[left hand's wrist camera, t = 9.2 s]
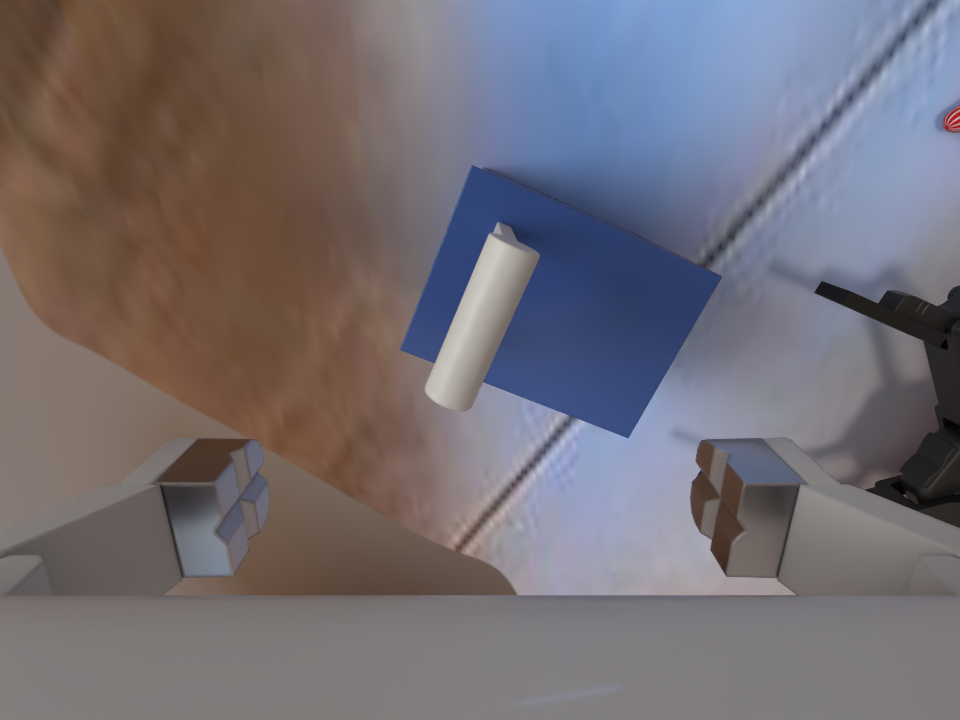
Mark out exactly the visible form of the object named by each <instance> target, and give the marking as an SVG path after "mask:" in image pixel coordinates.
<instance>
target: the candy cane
mask: <svg viewBox="0 0 960 720" xmlns="http://www.w3.org/2000/svg"><path fill="white" fill-rule="evenodd" d="M943 127H944V128H945V129H946V130H947V131H949V132H959V131H960V105H959V106H958V107H956V108H955V109H953V110H952V111H951V112H949V113H948V114H947V115H946V116H945V118H944V120H943Z"/></svg>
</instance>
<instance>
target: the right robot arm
mask: <svg viewBox="0 0 960 720" xmlns="http://www.w3.org/2000/svg"><path fill="white" fill-rule="evenodd" d="M814 293H816V294H818V295H821V296H823V297H825V298H827V299H830V300H832V301H834V302H836V303H839V304H841V305H843V306H845V307H848V308H850V309H852V310H854V311H857V312H859V313H861V314H863V315H866V316H868V317H870V318H872V319H875V320H877V321H879V322H881V323H884V324H886V325H888V326H890V327H893V328H895V329H897V330H899V331H902V332H904V333H906V334H909V335H911V336H914V337H916V338H919V339H921V340H923V341H924V345H925V349H926V353H927V357H928V361H929V366H930V370H931V374H932V378H933V382H934V386H935V390H936V394H937V398H938V402H939V405H936V406H935V412H936V416H937V420H938V424H939V428H940V430H938V431H936V432H935V433H931V432H929V433H928V435H927V436H926V437H925V438H924V440H923V441H922V443H921V445H920V447H919V449H918V451H917V453H916V454H915V455H913V456H912V457H911V458H910V459H909V460H907V461H906V463H905V464H904V465H903V466H902V468H901V469H900V471H901V472H903V474H902V475H900V476H896V477H892V478H888V479H884V480H880V481H877V482H876V483H875V487H873V488H870V489H866V490H865V491H868V492H870V493H873V494H875V495H878V496H880V497H883V498H885V499H888V500H890V501H893V502H895V503H898V504H900V505H903V506H905V507H908V508H910V509H913V510H915V511H918V512H920V513H923V514H925V515H928V516H930V517H933V518H936V519H938V520H941V521H943V522H946V523H948V524H951V525H953V526H956V527H958V528H960V286H956V287H954V288H953V289H952V290H951V291H950V292H949V294H948V298H947V299H948V300H947V301H946V302H945V303H943V304H941V305H939V306H935V305H933V304H930V303H928V302H926V301H924V300H922V299H919V298H917V297H915V296H912V295H909V294H906V293H903V292H899V291H892V290H887V291H886V293H885V294H884V296H883V297H882V299H881V300H880V302H879V303H875V302H873V301H871V300H869V299H866V298H864V297H862V296H860V295H858V294H855V293H853V292H851V291H848V290H845V289H842V288H840V287H837V286H834V285H831V284H828V283H826V282H823V281H822V282H821V283H820V285H819V286H818V288H817V289H816V291H815V292H814ZM701 472H702V470H701V471H700V472H699V474H700V473H701ZM699 474H698V475H699ZM904 494H906V496H907V498H905V497H904V496H903V495H904Z"/></svg>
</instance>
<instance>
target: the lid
mask: <svg viewBox="0 0 960 720" xmlns="http://www.w3.org/2000/svg"><path fill="white" fill-rule="evenodd" d="M721 277H722V276H720V275H718V274H716V273H714V272H712V271H710V270H707V269H705V268H703V267H701V266H698V265H696V264H694V263H692V262H689V261H687V260H685V259H683V258H680V257H678V256H676V255H674V254H671V253H669V252H667V251H665V250H662V249H660V248H658V247H656V246H653V245H651V244H649V243H647V242H644V241H642V240H640V239H638V238H635V237H633V236H631V235H629V234H626V233H624V232H622V231H620V230H617V229H615V228H613V227H611V226H608V225H606V224H604V223H602V222H599V221H597V220H595V219H593V218H590V217H588V216H586V215H584V214H581V213H579V212H577V211H575V210H572V209H570V208H568V207H566V206H563V205H561V204H559V203H557V202H554V201H552V200H550V199H547V198H545V197H543V196H541V195H538V194H536V193H534V192H532V191H529V190H527V189H525V188H523V187H520V186H518V185H516V184H514V183H511V182H509V181H507V180H505V179H502V178H500V177H498V176H496V175H493V174H491V173H489V172H487V171H484V170H482V169H480V168H478V167H475V166H473V165H472V166H471V169H470V171H469V174H468V176H467V179H466V182H465V184H464V187H463V189H462V192H461V194H460V197H459V200H458V202H457V205H456V207H455V210H454V212H453V215H452V218H451V220H450V223H449V225H448V228H447V230H446V233H445V236H444V238H443V241H442V243H441V246H440V248H439V251H438V254H437V256H436V259H435V261H434V264H433V266H432V269H431V272H430V274H429V277H428V279H427V282H426V284H425V287H424V290H423V292H422V295H421V297H420V300H419V302H418V305H417V307H416V310H415V313H414V315H413V318H412V320H411V323H410V325H409V328H408V331H407V333H406V336H405V338H404V341H403V343H402V346H401V349H400V350H402V351H405V352H407V353H410V354H412V355H415V356H417V357H420V358H423V359H425V360H428V361H430V362H433V363H435V364H434V367H433V369H432V371H431V374H430V376H429V379H428V381H427V383H426V386H425V392H426V394H427V395H428V396H429V397H430V398H431V399H432V400H433V401H435V402H436V403H438V404H440V405H441V406H444V407H446V408H449V409H452V410H457V411H466V410H469V409H470V408H471V407H472V405H473V403H474V401H475V398H476V396H477V394H478V392H479V390H480V388H481V385H482V383H483V382H485V383H487V384H490V385H492V386H495V387H497V388H500V389H503V390H505V391H508V392H510V393H513V394H515V395H518V396H521V397H523V398H526V399H528V400H531V401H534V402H536V403H539V404H541V405H544V406H546V407H549V408H552V409H554V410H557V411H559V412H562V413H565V414H567V415H570V416H572V417H575V418H577V419H580V420H583V421H585V422H588V423H590V424H593V425H595V426H598V427H601V428H603V429H606V430H608V431H611V432H614V433H616V434H619V435H621V436H624V437H626V438H629V436H630V434H631V433H632V431H633V429H634V427H635V426H636V424H637V422H638V421H639V419H640V417H641V415H642V414H643V412H644V410H645V408H646V407H647V405H648V403H649V402H650V400H651V398H652V396H653V395H654V393H655V391H656V389H657V388H658V386H659V384H660V383H661V381H662V379H663V377H664V376H665V374H666V372H667V370H668V369H669V367H670V365H671V364H672V362H673V360H674V358H675V357H676V355H677V353H678V351H679V350H680V348H681V346H682V345H683V343H684V341H685V339H686V338H687V336H688V334H689V332H690V331H691V329H692V327H693V326H694V324H695V322H696V320H697V319H698V317H699V315H700V313H701V312H702V310H703V308H704V307H705V305H706V303H707V301H708V300H709V298H710V296H711V294H712V293H713V291H714V289H715V288H716V286H717V284H718V282H719V281H720V279H721Z"/></svg>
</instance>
